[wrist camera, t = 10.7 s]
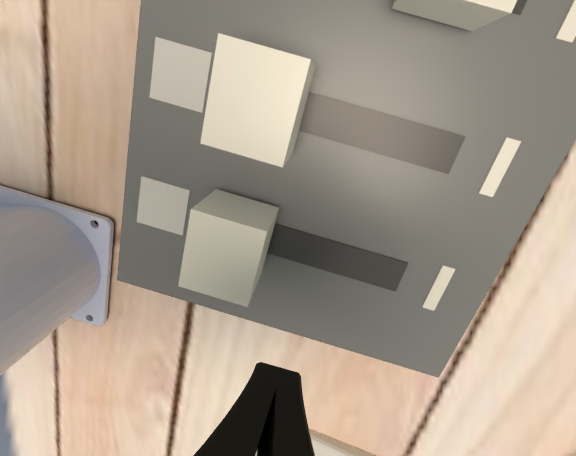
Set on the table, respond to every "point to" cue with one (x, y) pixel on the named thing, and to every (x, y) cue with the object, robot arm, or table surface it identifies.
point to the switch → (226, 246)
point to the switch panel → (357, 162)
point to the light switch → (332, 446)
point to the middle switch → (256, 100)
